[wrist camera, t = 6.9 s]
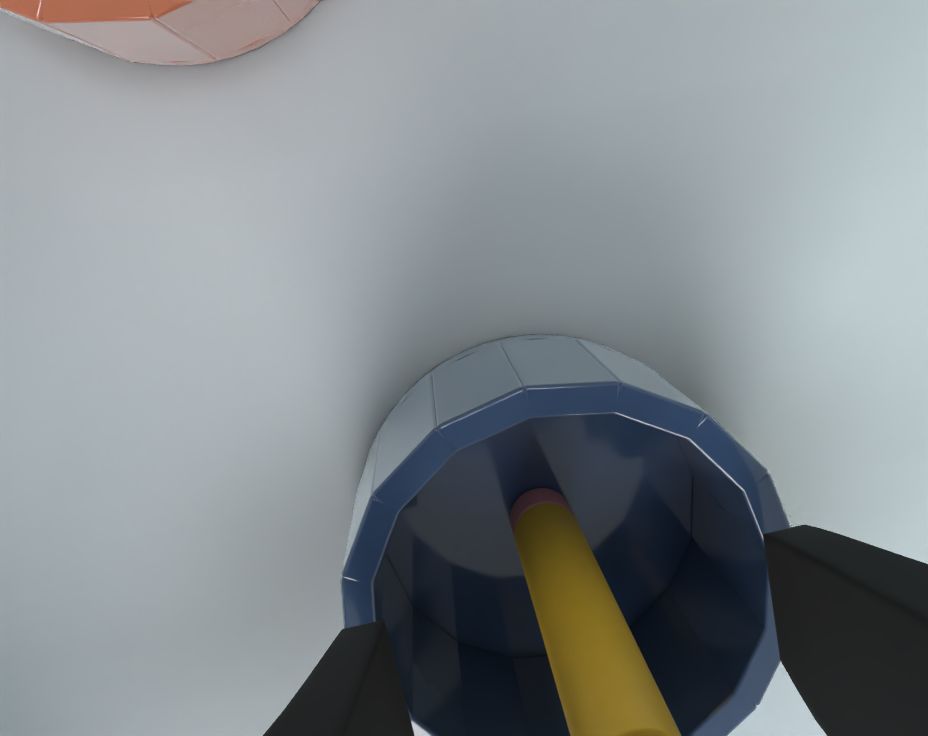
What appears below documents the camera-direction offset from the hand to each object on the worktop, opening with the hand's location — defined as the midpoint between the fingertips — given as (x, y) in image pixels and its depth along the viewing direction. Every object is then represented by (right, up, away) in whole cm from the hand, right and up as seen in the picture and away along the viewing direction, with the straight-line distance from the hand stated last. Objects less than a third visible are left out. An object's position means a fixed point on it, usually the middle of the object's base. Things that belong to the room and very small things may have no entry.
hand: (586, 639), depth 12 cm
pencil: (0, +1, +4) cm, 4 cm away
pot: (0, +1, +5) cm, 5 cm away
